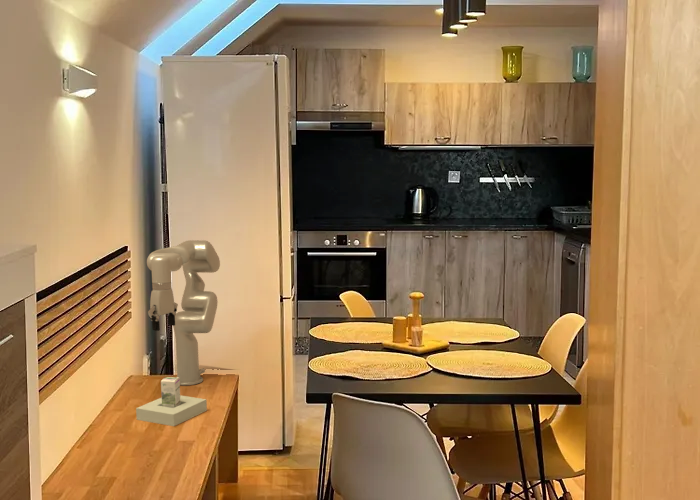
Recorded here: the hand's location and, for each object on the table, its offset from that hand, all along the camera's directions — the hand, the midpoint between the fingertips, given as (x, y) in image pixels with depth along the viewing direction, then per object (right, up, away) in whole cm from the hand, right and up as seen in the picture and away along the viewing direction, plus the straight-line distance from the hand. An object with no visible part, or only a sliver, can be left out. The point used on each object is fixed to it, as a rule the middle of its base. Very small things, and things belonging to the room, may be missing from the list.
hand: (164, 327), depth 331 cm
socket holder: (+7, -32, -16) cm, 37 cm away
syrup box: (+7, -33, -16) cm, 37 cm away
